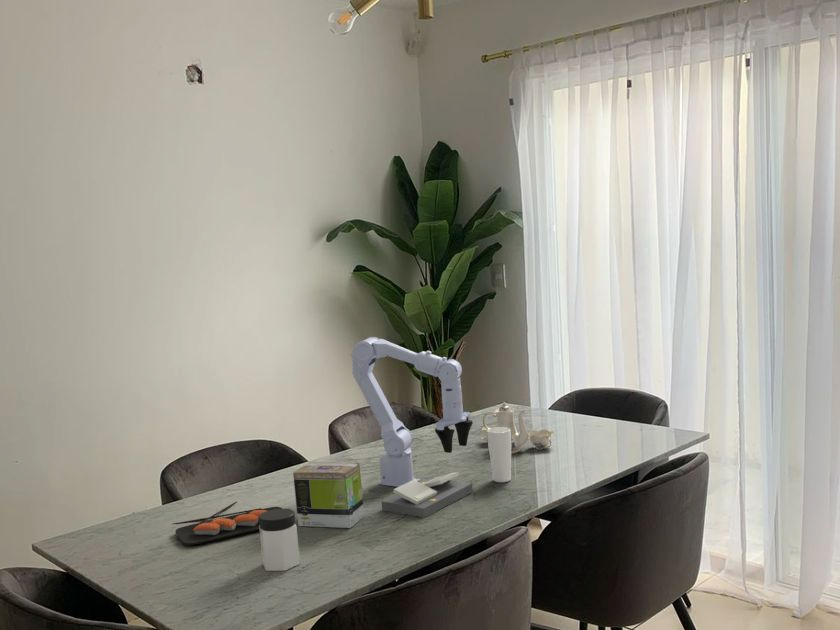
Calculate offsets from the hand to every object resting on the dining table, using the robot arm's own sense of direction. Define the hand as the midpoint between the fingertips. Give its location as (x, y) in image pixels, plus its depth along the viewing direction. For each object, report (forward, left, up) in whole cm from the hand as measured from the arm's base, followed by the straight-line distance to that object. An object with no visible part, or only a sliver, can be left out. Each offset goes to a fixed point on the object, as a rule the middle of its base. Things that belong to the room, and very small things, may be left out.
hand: (455, 448), depth 249 cm
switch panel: (+1, -16, -10) cm, 19 cm away
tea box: (-13, -40, -11) cm, 43 cm away
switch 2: (+1, -11, -6) cm, 12 cm away
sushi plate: (-40, -52, -11) cm, 67 cm away
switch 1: (+1, -22, -6) cm, 22 cm away
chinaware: (-5, +39, -11) cm, 41 cm away
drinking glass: (+10, +8, -11) cm, 17 cm away
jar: (-4, -67, -11) cm, 68 cm away
